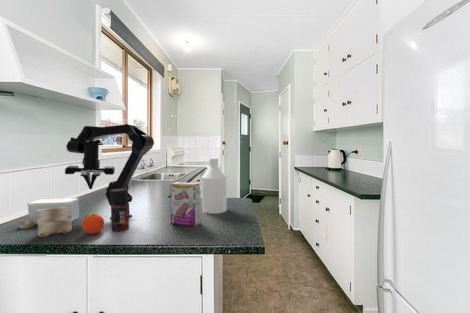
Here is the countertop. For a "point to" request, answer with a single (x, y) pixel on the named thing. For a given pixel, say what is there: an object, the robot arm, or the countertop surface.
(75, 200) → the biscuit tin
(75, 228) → the countertop surface
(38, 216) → the beige layered block
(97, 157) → the robot arm
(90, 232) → the clementine
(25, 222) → the left marker cube
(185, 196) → the candy bar box
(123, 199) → the deodorant
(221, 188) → the bottle
